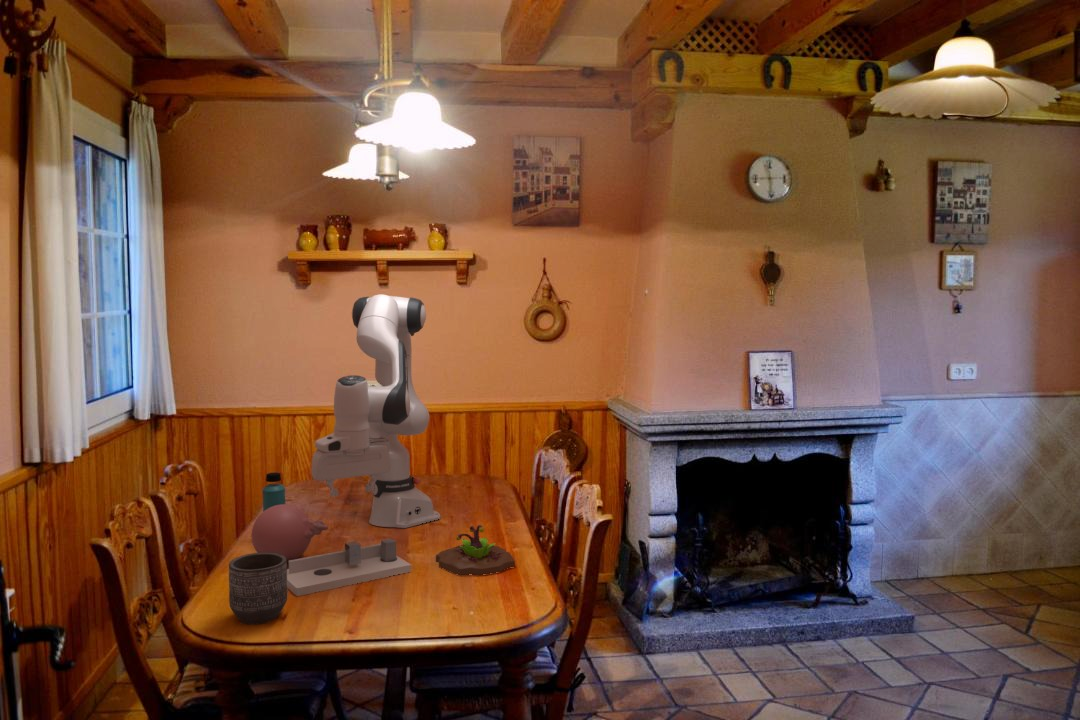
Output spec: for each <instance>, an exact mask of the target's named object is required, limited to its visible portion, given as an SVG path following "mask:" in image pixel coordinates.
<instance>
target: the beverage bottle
mask: <svg viewBox="0 0 1080 720" xmlns="http://www.w3.org/2000/svg"><path fill="white" fill-rule="evenodd" d="M281 475H282V474H281V473H280V472H274V471H273V472H269V473H266V476H265V482H268V484H266V485H265V486H264V487H263V488H262V512H264V511H265V510H266V509H268V508H270V507H272V506H275V505H280V504H286V503H287V502H286V501H287V500H286V487H285V486H284V485H283V484H282V483H278V482H281V480H282V476H281Z"/></svg>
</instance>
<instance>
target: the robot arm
mask: <svg viewBox="0 0 1080 720" xmlns="http://www.w3.org/2000/svg"><path fill="white" fill-rule="evenodd" d="M351 319H352V323H353V325H354V326H355V327H356V328H357V329H356V343H357V345H358V347H359V349H360V350H361V351H362V352H363V353H364V354H365V355H366V356H368V357H370V358H372V359H374V361H375V366H374V378H375V380H376V382H377V383H378V384H379V385H380V386H379V385H378V386H375V385H373V386H372V385H368V380H367V378H366V377H364V376H362V375H356V374H354V375H346V376H341V377H340V378H338V379H337V380H336V382H335V389H334V397H333V414H334V418H335V420H334V421H335V424H334V427H333V432H332V433H330V434H327V435H326V436H324V437H321V438H318V439H317V440H315V442H314V448H315V449H316V450H315V451H314V453H313V455H312V458H311V468H310V469H311V471H310V473H311V477H312V478H313V480H315V481H317V482H325V484H326V486H327V487H328V488H329V494H330V497H331V498H335V497H336V498H337V497H339V489H338V488H335V487H334V484H335V480H339V479H340V480H341V479H351V478H356V477H365V476H368V477H369V481H368V483H365V486H364V487H365V492H367V493H372V496H373V498H372V499H373V500H372V505H371V507H372V508H371V513H370V517H369V520H368V522H369V524H370V525H373V526H377V527H383V528H384V527H385V528H398V529H407V528H411V527H414V526H418V525H423V524H427V523H430V521H431V522H435V521H439V520H441V514H440V513H439V512H438V511H436V510H434V505H433V501H432V499H431V497H429V495H427V494H425V493H424V492H423V491H421V490H420V489H419V488H417V487H416V486H415V485H418V486H419V485H420V484H421V483H422V480H421V479H420V478H418V477H413V476H412V475H410V469H411V467H410V466H411V465H410V463H411V461H410V459H411V458H410V455H411V454H410V453H409V452H410V451H409V450H408V448H406V446H405V445H403V444H402V443H401V441H400V440H399V438H398V435H399V436H406V437H407V436H415V435H421V434H423V433H424V432H425V431H426V429H427V428H428V426H429V423H430V413H429V410H428V408H427V407H426V405H425V404H424V403H423V402H422V401H421V400H420V398H419V397H418V395H417V393H416V390H415V388H414V384H413V380H412V379H413V378H412V349H413V348H412V338H411V337H413V336H415V333H418V332H420V331H421V330H422V329H423V327H424V325H425V322H426V320H427V311H426V307H425V304H424V302H423V301H422V300H421V299H418V298H415V297H404V296H395V295H388V294H383V293H381V294H374V295H372V296H371V297H370V296H362V297H359V298H358V299H357V300H355V302H354V303H353V306H352V308H351ZM438 519H439V520H438ZM434 520H435V521H434ZM426 522H427V523H426ZM422 523H423V524H422Z"/></svg>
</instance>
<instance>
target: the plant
mask: <svg viewBox="0 0 1080 720" xmlns="http://www.w3.org/2000/svg"><path fill="white" fill-rule="evenodd" d="M469 531H470V532H471V533H473V537H472V536H471V535H470V534H468V533H459V534H457V536H456V537H455V539H456V541H460V540H461V543H462V544H459V545H456V546H455V547H451V548H447V549H444V550H442V551H440V552H439V553H436V555H435V562H436V563H438V562H439V563H438V567H439V568H440V567H441V568H440V569H442V568H444V569H446V570H448V571H447V572H449V571H451V572H453V573H455V574H458V575H469V574H472V575H483V574H490V573H496V572H501V571H502V570H504V569H507V568H510V567H514V566H515V567H516V561H515V558H514V557H513V556H512V554H511V552H510V551H507V549H505V548H501V546H499V545H496V543H495V542H494V543H491V544H489V543H488V542H489V539H487V538H486V537H481V538H480V533H482V534H483V533H484V532H485V528H484V526H482V525H481V524H478V525H477V526H476V529H475V527H474V525H471V526H470V527H469ZM462 537H467V538H468V539H466V538H462ZM444 569H443V570H444ZM446 570H445V571H446ZM504 571H505V570H504ZM451 572H450V573H451ZM502 572H503V571H502ZM502 572H501V573H502ZM453 573H452V574H453ZM455 574H454V575H455ZM458 575H457V576H458Z"/></svg>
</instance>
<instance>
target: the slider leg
mask: <svg viewBox="0 0 1080 720" xmlns="http://www.w3.org/2000/svg"><path fill="white" fill-rule="evenodd" d="M361 547H362V546H361V543H360V542H358V541H357V540H355V541H348V542H344V550H345V562H346V563H347V564H348V565H354V564H359V563H361Z"/></svg>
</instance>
